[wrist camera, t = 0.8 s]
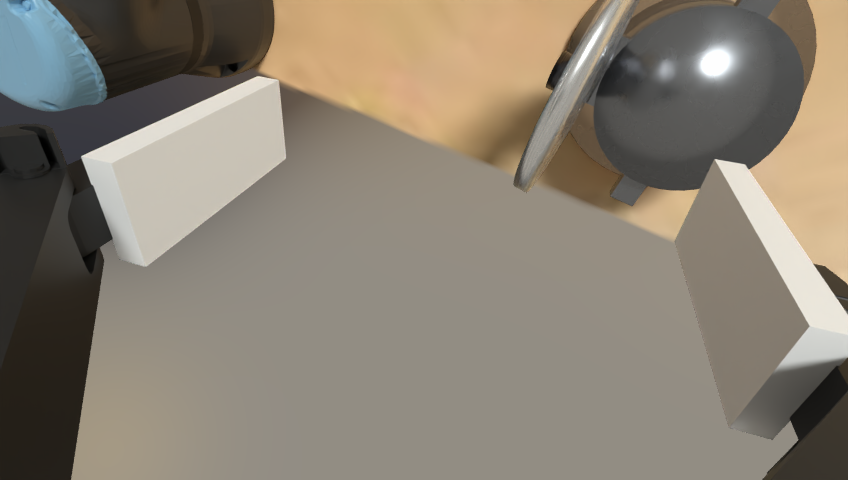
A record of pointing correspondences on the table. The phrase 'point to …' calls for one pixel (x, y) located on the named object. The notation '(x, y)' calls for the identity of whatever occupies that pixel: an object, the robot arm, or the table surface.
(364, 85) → the table surface
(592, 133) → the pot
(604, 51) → the lid
